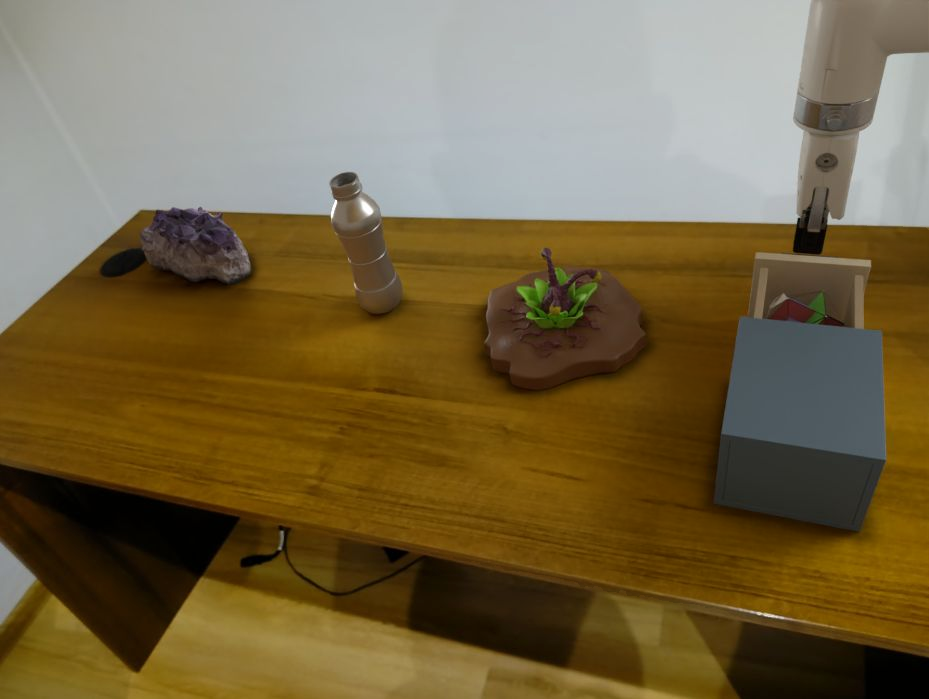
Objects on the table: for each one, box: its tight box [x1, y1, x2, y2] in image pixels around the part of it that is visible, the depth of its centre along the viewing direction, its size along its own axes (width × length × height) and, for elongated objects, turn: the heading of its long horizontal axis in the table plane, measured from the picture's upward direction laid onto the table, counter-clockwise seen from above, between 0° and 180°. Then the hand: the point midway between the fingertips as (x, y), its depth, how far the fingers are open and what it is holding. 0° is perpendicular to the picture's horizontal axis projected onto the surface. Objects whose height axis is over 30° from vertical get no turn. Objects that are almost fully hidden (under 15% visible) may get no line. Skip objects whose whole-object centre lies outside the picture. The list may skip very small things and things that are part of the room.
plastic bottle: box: [328, 171, 404, 315], centre depth 94 cm, size 6×7×20 cm
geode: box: [139, 206, 253, 285], centre depth 114 cm, size 20×12×10 cm, turn 60°
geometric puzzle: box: [766, 290, 846, 327], centre depth 77 cm, size 7×7×8 cm
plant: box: [483, 247, 647, 391], centre depth 87 cm, size 20×20×11 cm
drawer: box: [747, 251, 872, 329], centre depth 78 cm, size 19×11×9 cm, turn 159°
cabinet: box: [713, 316, 887, 533], centre depth 68 cm, size 16×13×11 cm
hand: (807, 249), depth 86 cm, fingers closed
